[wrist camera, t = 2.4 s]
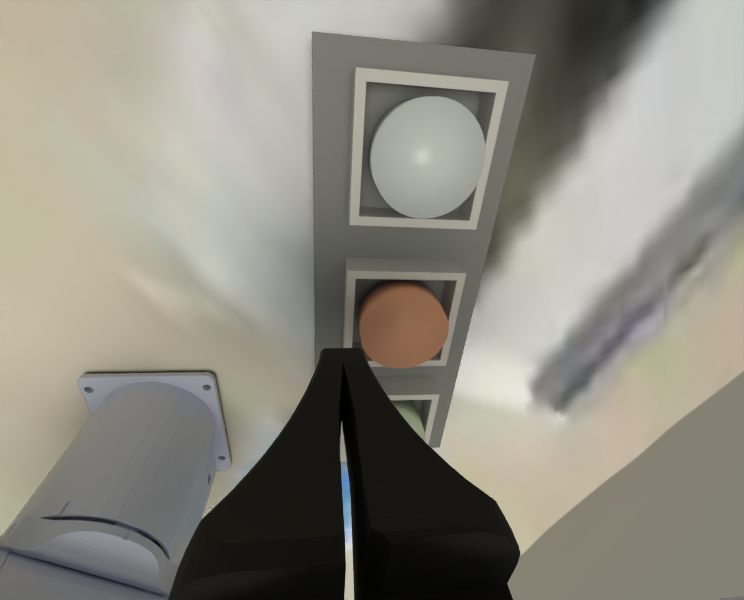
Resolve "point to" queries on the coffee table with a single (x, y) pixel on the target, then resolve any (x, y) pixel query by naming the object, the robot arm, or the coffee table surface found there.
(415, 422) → the sage button
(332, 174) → the button panel
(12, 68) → the coffee table surface
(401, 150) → the blue-grey button
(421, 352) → the terracotta button
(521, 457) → the coffee table surface
